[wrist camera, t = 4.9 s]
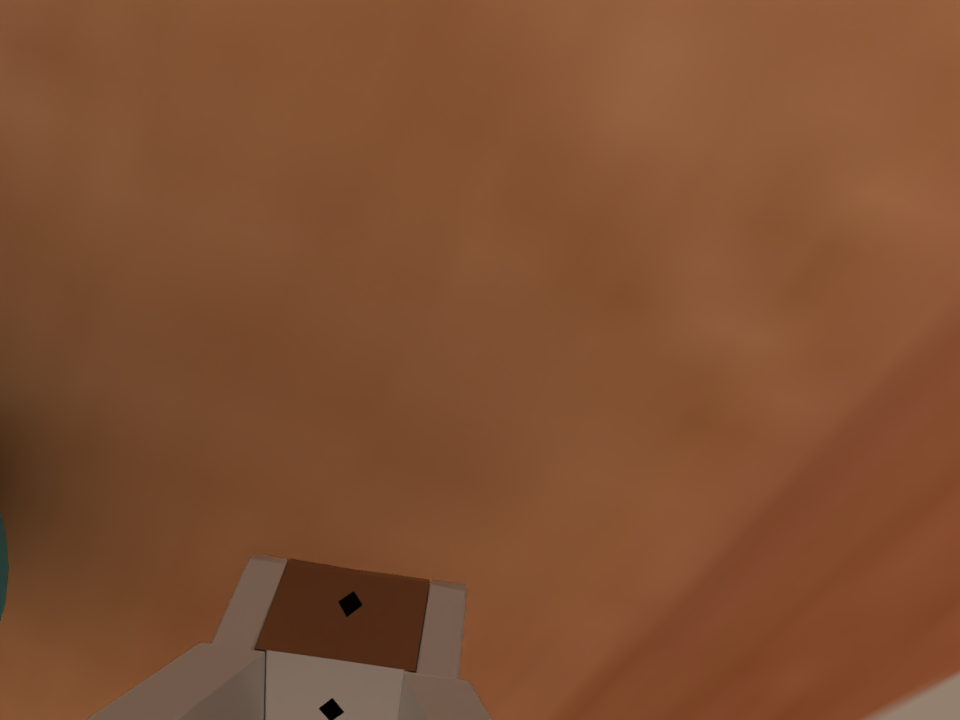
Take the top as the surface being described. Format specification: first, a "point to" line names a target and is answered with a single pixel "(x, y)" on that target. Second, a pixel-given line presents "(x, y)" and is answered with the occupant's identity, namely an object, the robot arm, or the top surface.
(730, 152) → the top surface
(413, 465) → the top surface
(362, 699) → the robot arm
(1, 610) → the ball
